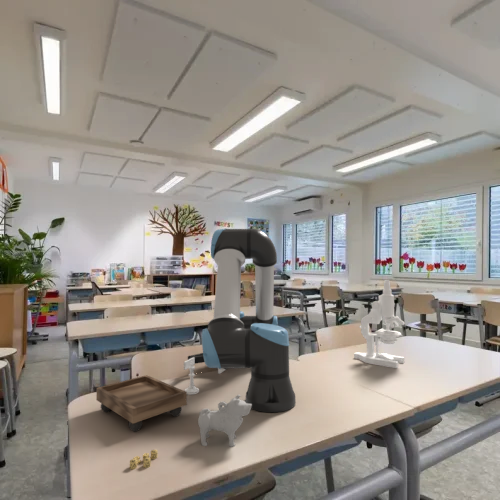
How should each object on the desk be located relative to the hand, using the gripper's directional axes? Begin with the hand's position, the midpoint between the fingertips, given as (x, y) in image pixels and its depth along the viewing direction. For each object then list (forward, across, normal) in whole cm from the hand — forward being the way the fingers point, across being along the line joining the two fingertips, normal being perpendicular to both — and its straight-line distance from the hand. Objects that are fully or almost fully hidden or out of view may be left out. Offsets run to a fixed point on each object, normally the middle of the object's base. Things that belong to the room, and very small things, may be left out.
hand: (201, 367), depth 123 cm
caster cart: (+27, +5, -6) cm, 28 cm away
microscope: (-50, -58, -6) cm, 77 cm away
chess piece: (+7, 0, -6) cm, 10 cm away
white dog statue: (+33, -24, -6) cm, 41 cm away
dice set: (+47, -12, -7) cm, 49 cm away
